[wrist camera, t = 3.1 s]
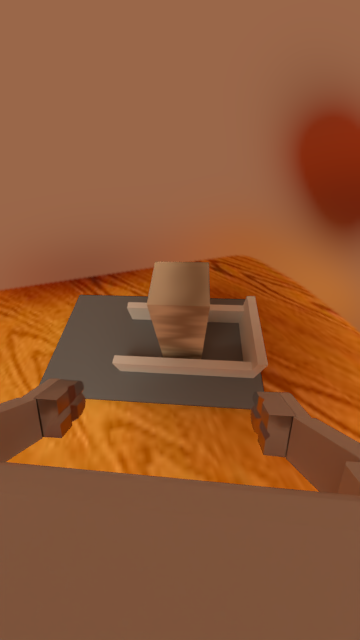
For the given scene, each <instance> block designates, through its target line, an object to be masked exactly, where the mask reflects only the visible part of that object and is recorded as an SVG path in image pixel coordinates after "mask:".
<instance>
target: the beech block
mask: <svg viewBox="0 0 360 640" xmlns="http://www.w3.org/2000/svg"><path fill="white" fill-rule="evenodd" d="M147 307H148V310H149V314H150V317H151V320H152V323H153V326H154V329H155V333H156V336H157V339H158V342H159V345H160V348H161V352H162V355H163V358H182V359H201V358H202V352H203V346H204V340H205V334H206V328H207V322H208V316H209V310H210V286H209V263H208V262H155V265H154V270H153V275H152V280H151V285H150V290H149V295H148V300H147Z"/></svg>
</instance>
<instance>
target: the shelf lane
mask: <svg viewBox="0 0 360 640" xmlns="http://www.w3.org/2000/svg"><path fill="white" fill-rule="evenodd" d="M147 300H148V297H140V296H102V295H80V296H79V298H78V300H77V303H76V305H75V307H74V309H73V311H72V314H71V316H70V318H69V320H68V322H67V325H66V327H65V329H64V331H63V334H62V336H61V338H60V340H59V342H58V345H57V347H56V349H55V351H54V353H53V356H52V358H51V360H50V362H49V365H48V367H47V369H46V371H45V373H44V376H43V378H42V380H41V382H40V384H39V385H41V384H42V383H44V382H45V381H47V380H48V379H67V380H79V381H82V382H83V384H84V390H83V391H82V394H83V395H84V396H85V399H98V400H114V401H129V402H145V403H160V404H176V405H191V406H206V407H222V408H237V409H251V408H252V407H253V406H254V405H255V404H254V402H253V400H252V399H253V393H254V392H264V389H263V383H262V377H261V371H262V370H263V369H264V368H265V367H267V366H268V362H267V357H266V351H265V346H264V341H263V336H262V331H261V325H260V320H259V315H258V310H257V304H256V299H255V296H247V297H246V299H216V298H210V310H209V316H208V322H207V328H206V334H205V340H204V346H203V352H202V358H201V359H182V358H163V355H162V352H161V348H160V345H159V342H158V339H157V336H156V333H155V329H154V326H153V323H152V320H151V317H150V314H149V310H148V307H147Z"/></svg>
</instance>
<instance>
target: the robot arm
mask: <svg viewBox="0 0 360 640" xmlns="http://www.w3.org/2000/svg"><path fill="white" fill-rule="evenodd" d="M83 390H84V384H83V382H82V381H79V380H67V379H48V380H47V381H45V382H44V383H42V384H41V385H39V386H38V387H36V388H35V389H33V390H32V391H30V392H29V393H28V394H26V395H25V396H23V397H22V398H16V399H13V400H10V401H7V402H4V403H1V404H0V640H360V443H359V442H357V441H355V440H353V439H351V438H350V437H348V436H346V435H344V434H343V433H341V432H339V431H337V430H335V429H334V428H332V427H330V426H328V425H327V424H325V423H323V422H321V421H319V420H318V419H316V418H311V417H310V416H309V414H308V413H307V412H306V411H305V410H304V408H303V407H302V406H301V405H300V404H299V403H298V401H297V400H296V399H295V398H294V397H293V395H292V394H290V393H288V392H254V393H253V399H252V400H253V402H254V404H255V405H254V406H253V407H252V408H251V423H252V427H253V429H254V432H256V433H257V434H258V442H259V445H260V447H261V450H262V452H263V455H270V456H279V457H286V459H287V460H288V461H289V462H290V463H291V464H292V465H293V466H294V467H295V468H296V469H297V470H298V471H299V472H300V473H301V474H302V475H303V476H304V477H305V478H306V479H307V480H308V481H309V482H310V483H311V484H312V485H313V486H314V487H315V488H316V489H317V490H318V491H319V492H315V491H304V490H293V489H282V488H271V487H260V486H250V485H240V484H229V483H219V482H209V481H199V480H188V479H178V478H168V477H157V476H146V475H136V474H125V473H114V472H104V471H93V470H82V469H72V468H61V467H51V466H40V465H29V464H19V463H8V462H6V461H8V460H9V459H11V458H12V457H14V456H15V455H17V454H18V453H20V452H21V451H23V450H25V449H26V448H28V447H29V446H31V445H32V444H34V443H35V442H37V441H38V440H40V439H42V437H55V438H62V437H63V436H64V435H65V434H66V432H67V431H68V430H69V429H70V428H71V426H72V421H74V420H76V419H78V418H79V417H80V415H81V414H82V413H83V410H84V408H85V396H84V395H83V394H82V391H83Z"/></svg>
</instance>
